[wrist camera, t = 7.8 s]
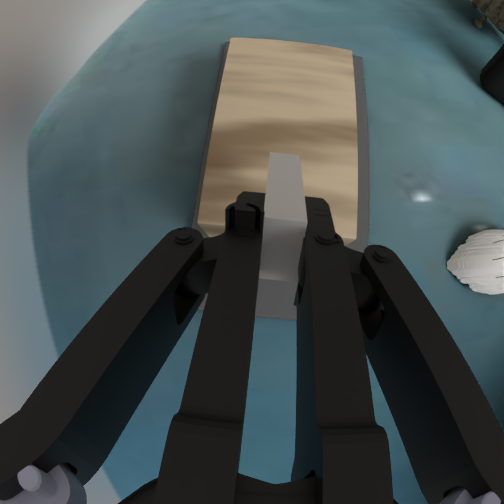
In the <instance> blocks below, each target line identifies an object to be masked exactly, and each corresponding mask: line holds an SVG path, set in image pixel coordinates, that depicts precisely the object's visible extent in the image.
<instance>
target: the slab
mask: <svg viewBox="0 0 504 504" xmlns="http://www.w3.org/2000/svg"><path fill="white" fill-rule="evenodd" d="M270 152H275V153H285V154H295V155H299V157H300V164H301V172H302V179H303V187H304V196H308V197H317V198H323V199H324V200H325V201H326V202H327V203H328V204H329V207H330V212H331V215H332V219H333V223H334V228H335V232H336V233H337V234H338V235H340V236H341V238H342V239H343V242H344V246H346V245H348V244H349V243H351V242H353V241H354V240H356V236H357V207H358V142H357V114H356V96H355V81H354V68H353V57H352V50H347V49H341V48H335V47H329V46H323V45H316V44H309V43H301V42H292V41H282V40H270V39H255V38H231V39H230V44H229V48H228V53H227V57H226V62H225V67H224V72H223V76H222V81H221V86H220V91H219V96H218V101H217V107H216V112H215V117H214V123H213V128H212V134H211V139H210V145H209V151H208V157H207V163H206V169H205V175H204V181H203V188H202V194H201V201H200V208H199V215H198V222H197V223H198V224H199V226H200V227H201V228H202V229H203V230H204V232H205V233H206V234H207V235H208V236H209V237H214V236H218V235H220V234H222V233H224V232H225V209H226V207H227V206H228V205H230V204H231V203H234V202H236V199H237V196H238V195H239V194H241V193H242V192H243V191H248V192H260V193H266V186H267V176H268V167H269V158H270Z"/></svg>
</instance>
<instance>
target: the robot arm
mask: <svg viewBox="0 0 504 504" xmlns="http://www.w3.org/2000/svg"><path fill="white" fill-rule="evenodd" d="M297 277H298V285H297V290H296V295H295V300H294V306H296V308H297V393H296V438H295V458H294V464H293V468H292V474H291V482H287V483H282V484H271V483H268V482H264V481H261V480H258V479H255V478H251V477H248V476H245V475H242V474H239V473H238V470H239V461H240V452H241V443H242V434H243V425H244V415H245V406H246V397H247V388H248V378H249V369H250V359H251V350H252V340H253V331H254V321H255V311H256V301H257V291H258V281H259V279H269V280H279V281H290V282H297ZM206 293H208V296H207V300H206V303H205V307H204V311H203V315H202V319H201V323H200V327H199V331H198V335H197V339H196V343H195V348H194V352H193V356H192V360H191V364H190V368H189V372H188V377H187V381H186V385H185V389H184V394H183V398H182V402H181V406H180V410H179V412H178V413H177V414H175V415H174V417H173V419H172V421H171V424H170V427H169V431H168V435H167V440H166V444H165V449H164V453H163V458H162V462H161V467H160V471H159V476H158V478H156V479H154V480H152V481H150V482H148V483H146V484H144V485H143V486H141V487H140V488H139V489H137V490H136V491H135V492H133V493H132V494H131V495H129V496H128V497H126V498H125V499H124V500H122V501H121V502H119V503H118V504H398V503H397V502H396V501H395V500H394V499H393V489H392V475H391V463H390V452H389V443H388V438H387V433H386V431H385V430H384V428H383V427H381V426H379V425H377V423H376V421H375V417H374V408H373V400H372V392H371V385H370V378H369V371H368V364H367V358H366V354H367V356H368V359H369V361H370V363H371V366H372V368H373V370H374V372H375V375H376V377H377V380H378V382H379V384H380V387H381V389H382V391H383V394H384V396H385V399H386V401H387V404H388V406H389V408H390V411H391V413H392V416H393V418H394V421H395V423H396V426H397V429H398V431H399V434H400V436H401V439H402V441H403V444H404V447H405V449H406V452H407V455H408V457H409V460H410V463H411V466H412V468H413V471H414V474H415V477H416V479H417V482H418V484H419V486H420V489H421V491H422V493H423V495H424V496H425V498H426V500H427V502H428V504H504V434H503V432H502V430H501V428H500V426H499V423H498V421H497V419H496V417H495V415H494V413H493V411H492V409H491V407H490V405H489V403H488V401H487V399H486V397H485V395H484V393H483V391H482V389H481V388H480V386H479V384H478V382H477V380H476V378H475V376H474V375H473V373H472V371H471V369H470V367H469V366H468V364H467V362H466V360H465V359H464V357H463V355H462V353H461V352H460V350H459V348H458V347H457V345H456V343H455V342H454V340H453V338H452V337H451V335H450V333H449V332H448V330H447V329H446V327H445V325H444V324H443V322H442V321H441V319H440V317H439V316H438V314H437V313H436V311H435V310H434V308H433V307H432V305H431V304H430V302H429V301H428V299H427V298H426V296H425V295H424V293H423V292H422V290H421V289H420V287H419V286H418V284H417V283H416V281H415V280H414V278H413V277H412V276H411V274H410V273H409V271H408V270H407V269H406V267H405V266H404V264H403V263H402V262H401V260H400V259H399V257H398V256H397V255H396V254H395V253H394V252H393V251H392V250H390V249H389V248H387V247H385V246H381V245H370V246H367V247H366V248H365V249H364V253H362V252H359V251H356V250H353V249H350V248H348V247H346V246H344V242H343V239H342V238H341V236H340V235H338V234H337V233H336V232H335V228H334V223H333V219H332V215H331V212H330V207H329V204H328V203H327V202H326V201H325V200H324V199H323V198H317V197H308V196H304V187H303V179H302V172H301V164H300V157H299V155H295V154H285V153H275V152H270V158H269V167H268V176H267V186H266V193H260V192H248V191H243V192H242V193H241V194H239V195H238V196H237V199H236V202H234V203H231V204H230V205H228V206H227V207H226V209H225V232H224V233H222V234H220V235H218V236H214V237H207V238H203V236H202V233H201V232H200V231H199V230H196V229H194V228H187V227H183V228H177V229H175V230H172V231H171V232H169V233H168V234H167V235H166V236H165V237H164V238H163V239H162V240H161V241H160V242H159V243H158V244H157V245H156V246H155V247H154V248H153V249H152V251H151V252H150V253H149V254H148V255H147V256H146V257H145V258H144V259H143V260H142V261H141V262H140V264H139V265H138V266H137V267H136V268H135V269H134V270H133V271H132V272H131V273H130V275H129V276H128V277H127V278H126V279H125V280H124V281H123V282H122V283H121V285H120V286H119V287H118V288H117V289H116V290H115V291H114V293H113V294H112V295H111V296H110V297H109V298H108V299H107V301H106V302H105V303H104V304H103V305H102V306H101V308H100V309H99V310H98V311H97V312H96V313H95V315H94V316H93V317H92V318H91V319H90V321H89V322H88V323H87V324H86V325H85V326H84V328H83V329H82V330H81V331H80V333H79V334H78V335H77V336H76V337H75V339H74V340H73V341H72V342H71V344H70V345H69V346H68V347H67V349H66V350H65V351H64V352H63V354H62V355H61V356H60V357H59V359H58V360H57V361H56V362H55V364H54V365H53V366H52V368H51V369H50V370H49V371H48V373H47V374H46V376H45V377H44V378H43V380H42V381H41V382H40V383H39V385H38V386H37V387H36V389H35V390H34V391H33V393H32V394H31V395H30V397H29V398H28V399H27V401H26V402H25V404H24V405H23V406H22V408H21V409H20V410H19V411H18V412H17V413H15V414H14V415H12V416H11V417H10V418H8V419H7V420H5V421H4V422H3V423H1V424H0V504H86V502H87V500H86V492H85V489H84V487H83V486H84V485H85V484H86V483H87V482H88V481H89V480H90V479H91V478H92V477H93V475H94V474H95V473H96V472H97V471H98V470H99V468H100V467H101V466H102V464H103V463H104V461H105V460H106V458H107V457H108V455H109V453H110V452H111V450H112V448H113V447H114V445H115V443H116V442H117V440H118V438H119V437H120V435H121V433H122V432H123V430H124V428H125V427H126V425H127V423H128V422H129V420H130V418H131V417H132V415H133V413H134V412H135V410H136V408H137V407H138V405H139V403H140V402H141V400H142V399H143V397H144V395H145V394H146V392H147V390H148V389H149V387H150V385H151V384H152V382H153V381H154V379H155V377H156V376H157V374H158V372H159V371H160V369H161V367H162V366H163V364H164V363H165V361H166V359H167V358H168V356H169V354H170V353H171V351H172V350H173V348H174V346H175V345H176V343H177V342H178V340H179V338H180V337H181V335H182V333H183V332H184V330H185V329H186V327H187V325H188V324H189V322H190V321H191V319H192V317H193V316H194V314H195V313H196V311H197V309H198V308H199V306H200V305H201V303H202V301H203V300H204V298H205V295H206Z"/></svg>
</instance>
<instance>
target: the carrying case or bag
mask: <svg viewBox="0 0 504 504" xmlns="http://www.w3.org/2000/svg"><path fill="white" fill-rule="evenodd" d="M480 81H481V84H482V86H483V88H484V89H485V90H486V91H487V92H488V93H490V94H491V95H492V96H494V97H495V98H496V99H498V100H499V101H500V102H501V103H503V104H504V44H503V46H502V47H501V48H500V49H499V50H498V52H497V53H496V54H495V55H494V56H493V58H492V59H491V60H490V61H489V62H488V63H487V65H486V66H485V67H484V68H483V69H482V71H481V74H480Z"/></svg>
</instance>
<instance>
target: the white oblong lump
mask: <svg viewBox="0 0 504 504" xmlns="http://www.w3.org/2000/svg"><path fill="white" fill-rule="evenodd" d="M447 265H448V266H447V269H448V270H449V271H451V272H452V274H453V275H455V276H457V278H458V279H460V282H461V283H464V284H468V285H470V286H469V287H470V288H472V290H473V291H475V292H480V293H487V294H489V295H494V294H501V293H504V230H498V229H490V230H483V231H482V232H478V233H476V234H474V235H470V236H469V237H468V239H467V240H466V243H465V244H462V245H460V246H459V247H458V250H456V251H455V254H453V255H452V256H451V259H449V260H448V261H447Z"/></svg>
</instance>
